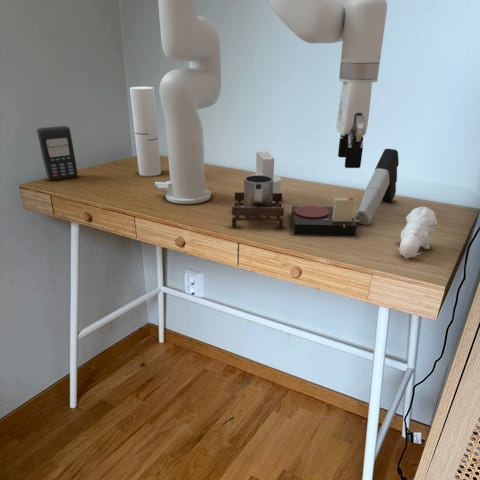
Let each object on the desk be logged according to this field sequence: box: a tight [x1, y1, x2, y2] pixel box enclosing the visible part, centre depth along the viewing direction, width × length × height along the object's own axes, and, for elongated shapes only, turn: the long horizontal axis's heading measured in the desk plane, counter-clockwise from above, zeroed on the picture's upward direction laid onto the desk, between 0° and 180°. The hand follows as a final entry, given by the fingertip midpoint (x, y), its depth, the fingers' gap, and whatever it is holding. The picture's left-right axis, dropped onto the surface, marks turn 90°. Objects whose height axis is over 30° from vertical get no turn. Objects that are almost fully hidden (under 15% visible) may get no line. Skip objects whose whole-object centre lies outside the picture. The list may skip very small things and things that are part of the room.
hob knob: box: [332, 196, 355, 222], centre depth 106 cm, size 4×2×5 cm, turn 88°
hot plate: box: [294, 205, 329, 218], centre depth 112 cm, size 8×8×1 cm
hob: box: [290, 205, 360, 237], centre depth 110 cm, size 15×14×3 cm
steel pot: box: [243, 174, 273, 207], centre depth 111 cm, size 7×9×7 cm
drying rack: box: [231, 191, 285, 230], centre depth 113 cm, size 12×12×5 cm
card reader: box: [36, 125, 78, 181], centre depth 141 cm, size 9×4×15 cm, turn 123°
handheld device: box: [355, 148, 400, 226], centre depth 118 cm, size 4×22×15 cm
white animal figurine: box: [397, 206, 438, 260], centre depth 96 cm, size 6×8×12 cm
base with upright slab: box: [250, 150, 282, 203], centre depth 124 cm, size 9×9×12 cm
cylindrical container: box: [129, 86, 162, 177], centre depth 144 cm, size 7×7×25 cm
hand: (348, 162), depth 100 cm, fingers open, 9 cm apart
